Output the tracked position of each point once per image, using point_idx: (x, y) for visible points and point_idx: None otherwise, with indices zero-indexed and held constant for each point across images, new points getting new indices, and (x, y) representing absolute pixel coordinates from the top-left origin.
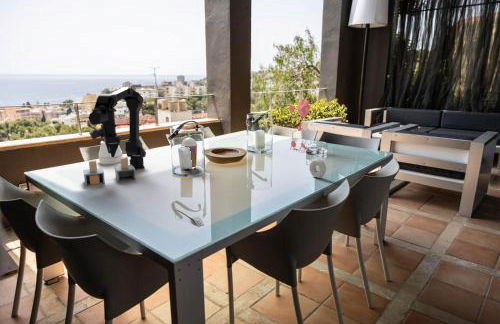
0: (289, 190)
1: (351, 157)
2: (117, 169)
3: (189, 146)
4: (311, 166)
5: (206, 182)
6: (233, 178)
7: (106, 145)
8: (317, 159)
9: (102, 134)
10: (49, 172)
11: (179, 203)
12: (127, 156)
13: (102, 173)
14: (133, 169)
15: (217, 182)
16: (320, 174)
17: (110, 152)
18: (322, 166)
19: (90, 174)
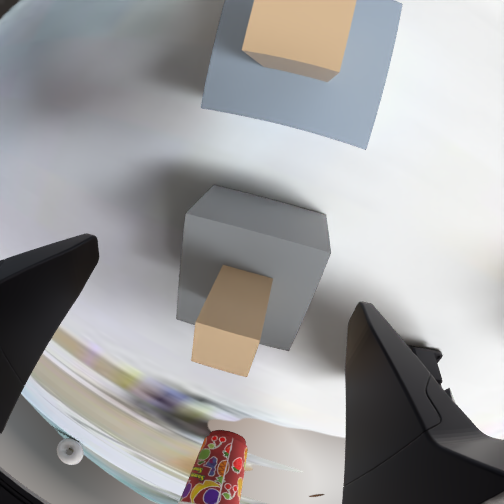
0: (27, 391)
1: (154, 495)
2: (221, 230)
3: (181, 501)
4: (73, 454)
5: (79, 377)
6: (95, 414)
7: (402, 394)
8: (62, 460)
9: None
10: None
11: None
12: (449, 390)
13: (207, 96)
14: (178, 308)
15: (75, 386)
16: (63, 440)
17: (27, 251)
18: (57, 449)
19: (226, 5)
